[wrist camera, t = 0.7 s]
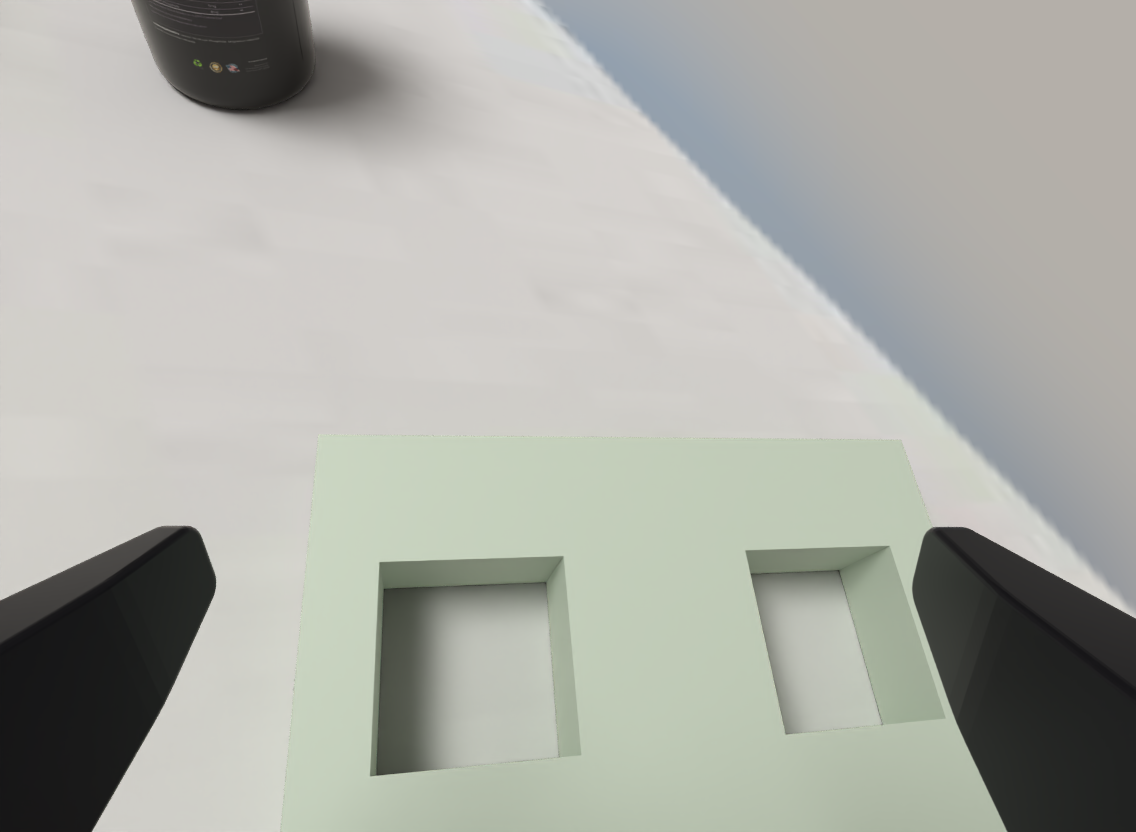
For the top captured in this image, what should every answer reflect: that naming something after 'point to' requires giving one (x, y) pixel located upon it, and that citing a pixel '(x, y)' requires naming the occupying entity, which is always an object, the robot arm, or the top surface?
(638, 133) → the top surface
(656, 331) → the top surface
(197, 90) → the supplement bottle
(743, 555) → the board
